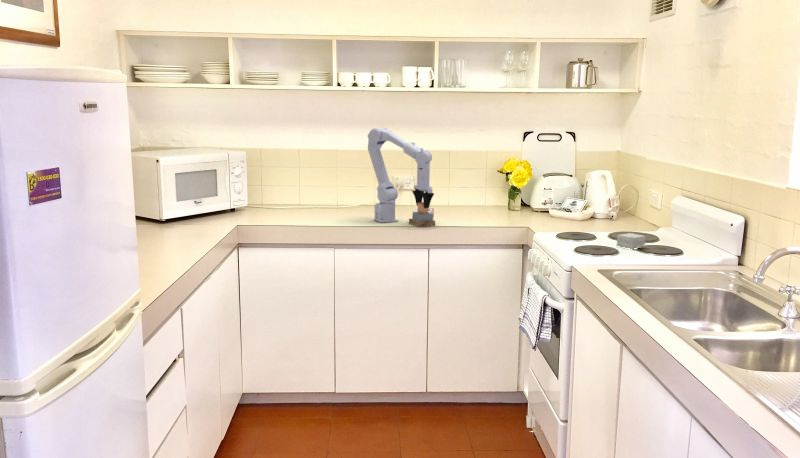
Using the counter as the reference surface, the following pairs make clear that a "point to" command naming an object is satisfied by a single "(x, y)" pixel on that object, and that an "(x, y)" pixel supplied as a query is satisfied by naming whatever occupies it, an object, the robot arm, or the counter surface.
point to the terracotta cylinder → (422, 208)
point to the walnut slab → (421, 223)
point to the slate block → (423, 217)
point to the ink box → (430, 210)
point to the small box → (630, 240)
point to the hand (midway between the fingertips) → (422, 206)
